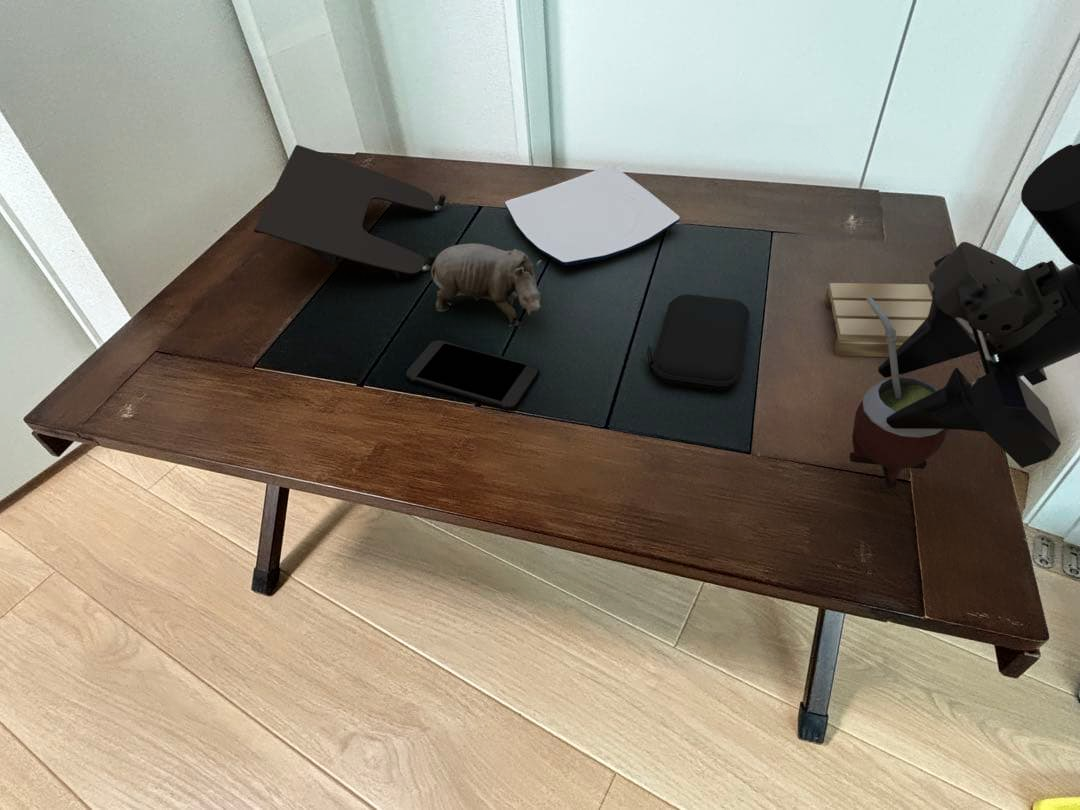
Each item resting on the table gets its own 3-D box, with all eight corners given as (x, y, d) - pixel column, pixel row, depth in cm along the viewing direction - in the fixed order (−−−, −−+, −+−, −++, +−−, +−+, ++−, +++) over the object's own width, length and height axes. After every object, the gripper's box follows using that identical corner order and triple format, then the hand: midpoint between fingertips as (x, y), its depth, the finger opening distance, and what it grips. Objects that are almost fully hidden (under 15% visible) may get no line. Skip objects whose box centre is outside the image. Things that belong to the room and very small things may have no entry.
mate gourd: (936, 496, 61) (995, 360, 51) (837, 486, 63) (875, 352, 53) (923, 434, 66) (974, 300, 56) (832, 426, 68) (866, 294, 58)
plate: (689, 235, 101) (691, 218, 99) (562, 285, 95) (560, 268, 93) (614, 175, 114) (613, 159, 112) (498, 216, 108) (495, 200, 106)
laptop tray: (415, 321, 102) (433, 271, 96) (248, 272, 96) (255, 216, 90) (432, 231, 118) (448, 183, 112) (289, 184, 112) (298, 131, 106)
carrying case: (662, 304, 91) (639, 385, 81) (663, 285, 88) (639, 365, 79) (749, 314, 88) (735, 399, 78) (752, 295, 86) (738, 379, 76)
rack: (919, 302, 87) (926, 282, 85) (938, 358, 80) (947, 338, 78) (824, 300, 88) (829, 281, 86) (835, 355, 82) (840, 335, 80)
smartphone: (434, 341, 89) (433, 335, 89) (542, 370, 84) (542, 364, 83) (402, 380, 85) (400, 375, 84) (514, 414, 80) (513, 408, 79)
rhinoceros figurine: (443, 258, 97) (480, 193, 85) (523, 319, 99) (571, 265, 87) (412, 295, 94) (446, 233, 81) (495, 359, 95) (542, 308, 83)
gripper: (1005, 152, 52) (818, 270, 63) (1081, 316, 40) (832, 429, 50) (1080, 247, 56) (892, 343, 67) (1169, 423, 44) (922, 508, 54)
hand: (884, 397), depth 59 cm, fingers closed on mate gourd, 5 cm apart
